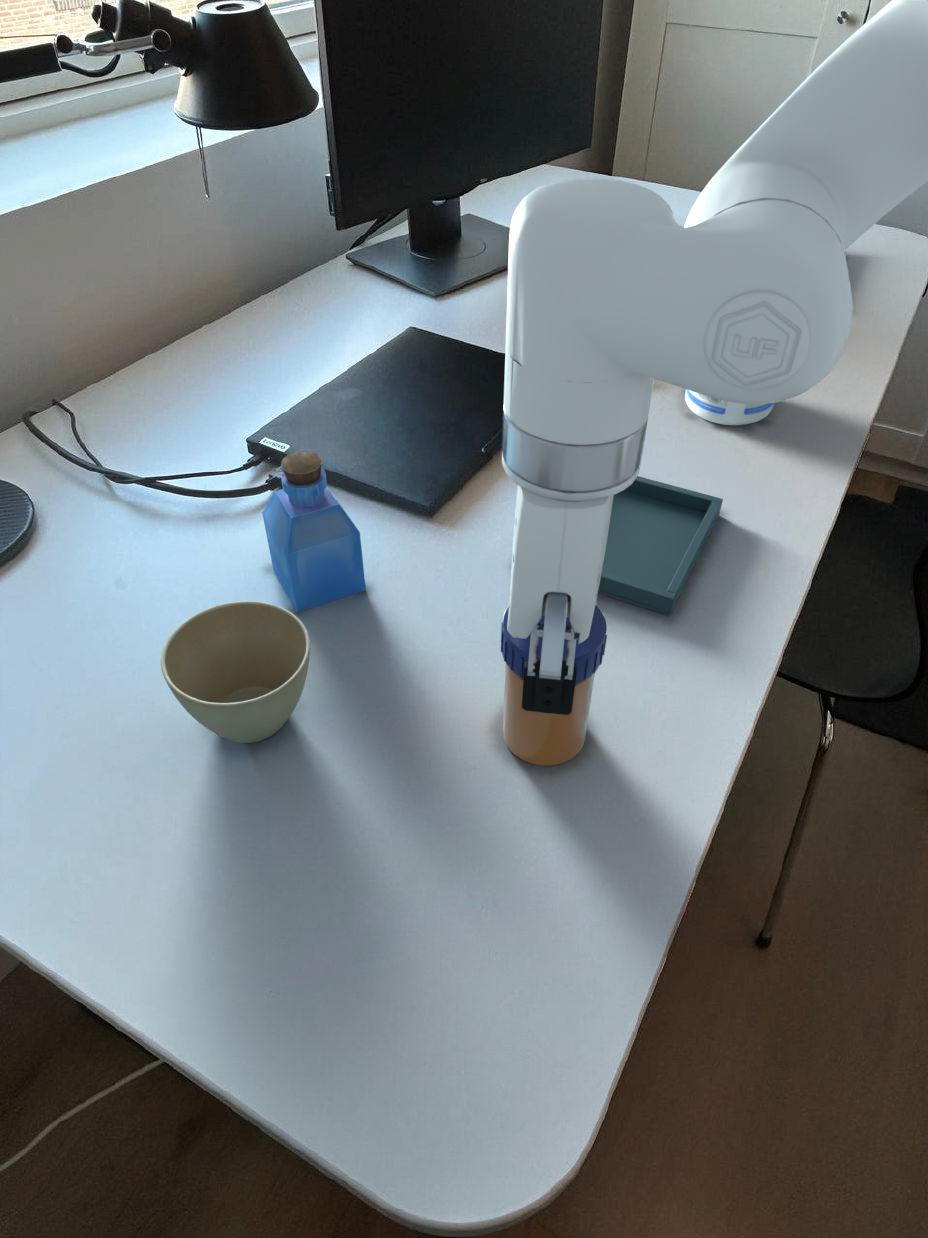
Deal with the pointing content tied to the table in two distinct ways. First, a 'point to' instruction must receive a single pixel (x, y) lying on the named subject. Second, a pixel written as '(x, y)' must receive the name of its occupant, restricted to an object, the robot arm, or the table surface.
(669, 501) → the tray
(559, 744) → the jar
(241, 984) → the table surface
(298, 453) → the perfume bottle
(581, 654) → the lid
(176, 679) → the flower pot
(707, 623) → the table surface
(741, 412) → the supplement tub
